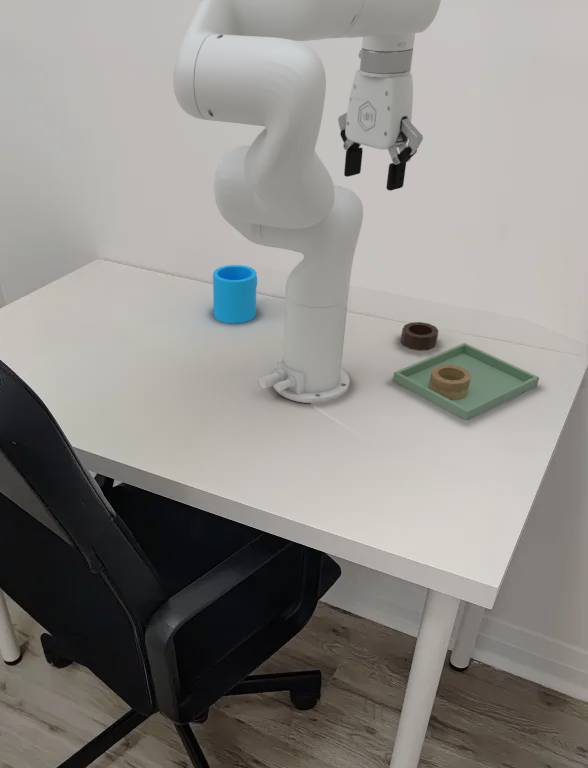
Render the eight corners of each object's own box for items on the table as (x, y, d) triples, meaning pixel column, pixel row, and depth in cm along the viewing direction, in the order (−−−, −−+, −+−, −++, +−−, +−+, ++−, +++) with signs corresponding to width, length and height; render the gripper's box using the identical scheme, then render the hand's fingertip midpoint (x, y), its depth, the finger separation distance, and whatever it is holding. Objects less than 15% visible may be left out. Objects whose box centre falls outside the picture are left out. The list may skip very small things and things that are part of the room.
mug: (242, 327, 144) (242, 285, 139) (205, 317, 148) (204, 276, 143) (273, 303, 152) (274, 263, 147) (237, 295, 156) (237, 255, 151)
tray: (465, 423, 117) (467, 411, 116) (392, 383, 127) (393, 372, 126) (536, 388, 125) (539, 377, 123) (462, 353, 134) (464, 342, 133)
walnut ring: (418, 356, 134) (421, 340, 132) (393, 343, 138) (395, 328, 136) (442, 346, 137) (445, 330, 135) (417, 334, 140) (419, 319, 139)
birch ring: (449, 403, 120) (453, 387, 119) (421, 388, 124) (423, 372, 122) (475, 392, 123) (479, 375, 121) (446, 377, 127) (449, 361, 125)
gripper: (327, 57, 119) (320, 174, 130) (411, 73, 108) (395, 199, 119) (363, 52, 122) (352, 166, 133) (447, 66, 111) (428, 189, 122)
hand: (372, 181), depth 126 cm, fingers open, 9 cm apart
